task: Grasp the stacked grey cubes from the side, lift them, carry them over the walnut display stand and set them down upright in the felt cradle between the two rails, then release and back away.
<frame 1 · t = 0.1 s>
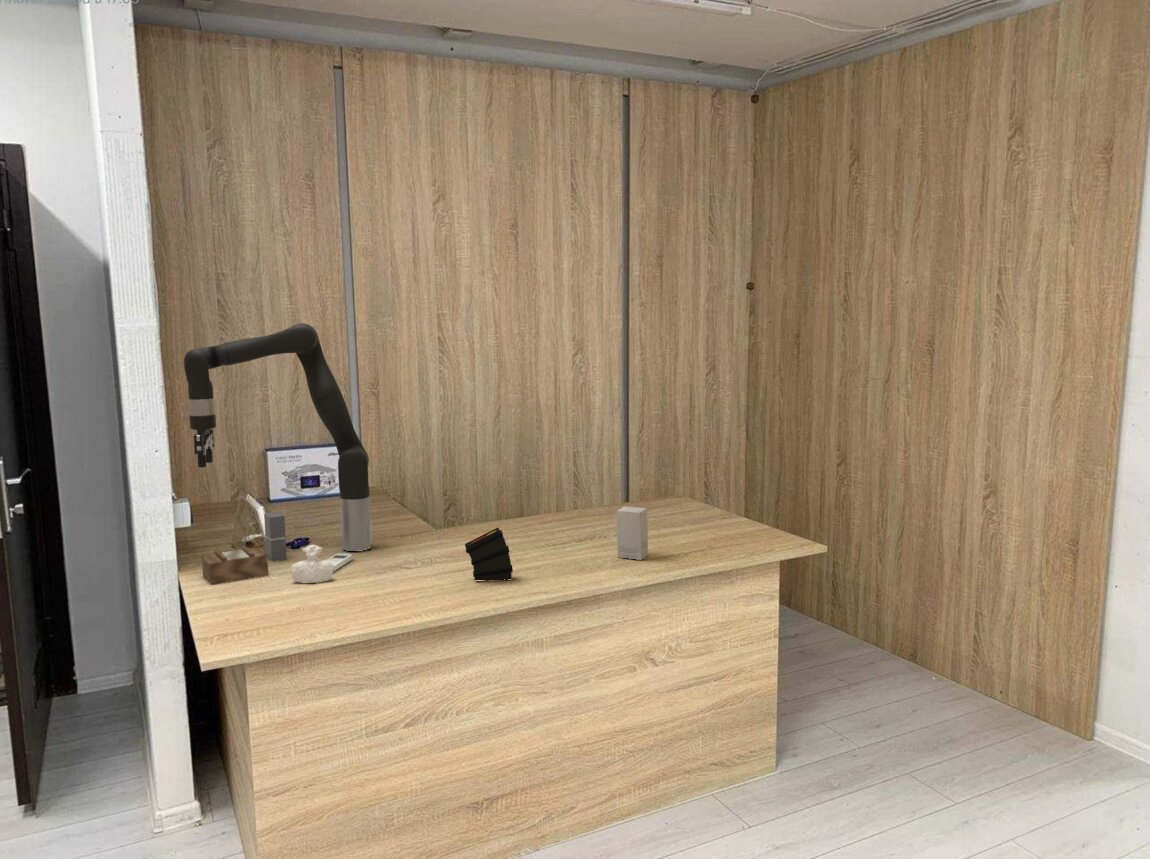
hand: (205, 464, 275), 29 cm above the table, tool pointing down, fingers open, 8 cm apart
tied plastic bag: (313, 581, 253), on the table
skincare box: (632, 557, 276), on the table
display stand: (235, 575, 258), on the table
stacked grey cubes: (276, 558, 275), on the table
magazine: (489, 580, 254), on the table
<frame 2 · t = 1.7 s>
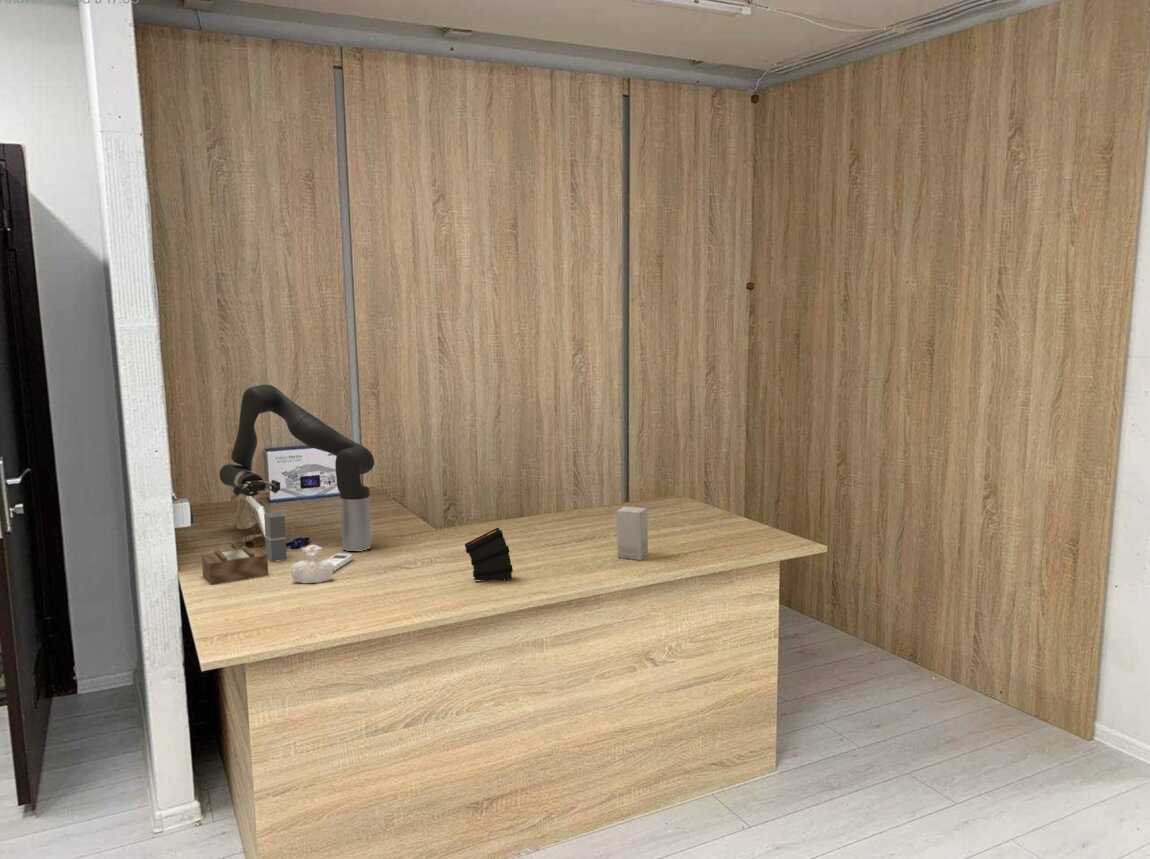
hand: (262, 491, 281), 20 cm above the table, tool horizontal, fingers open, 8 cm apart
nothing on the table moved.
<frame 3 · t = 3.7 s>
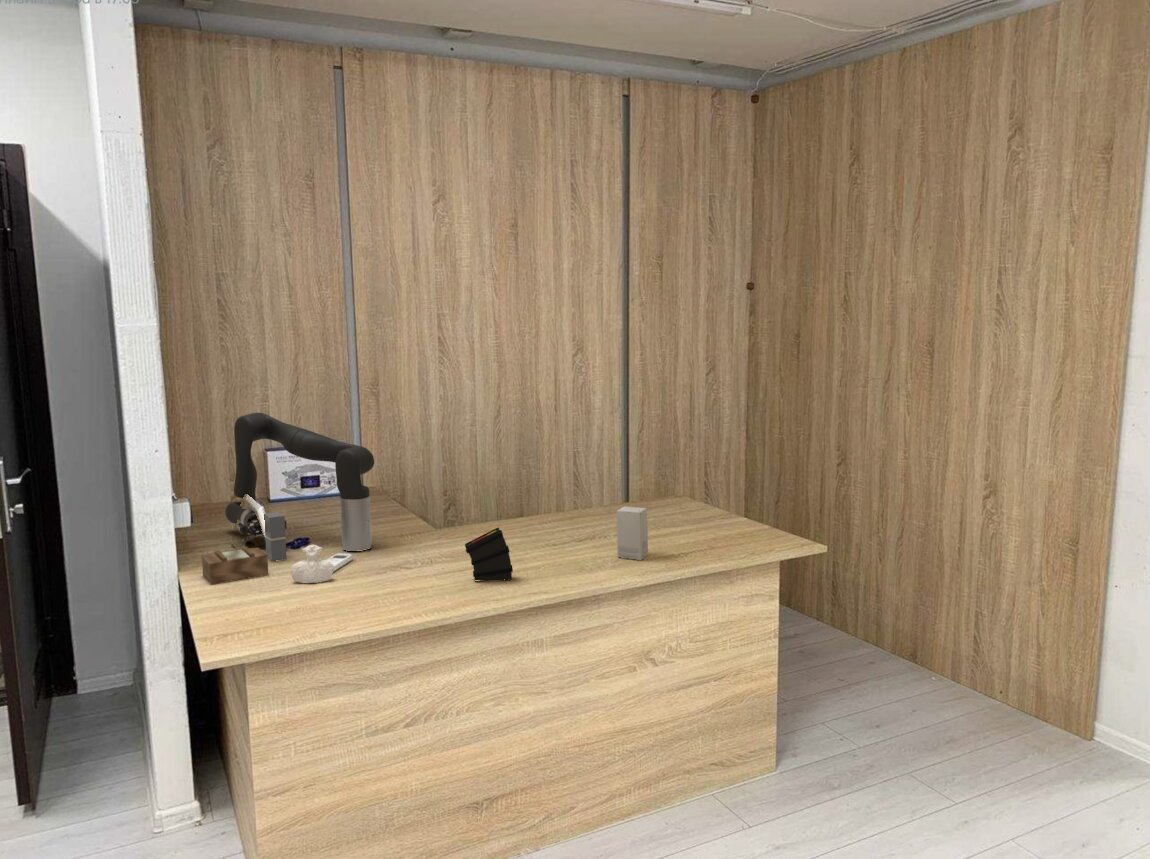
hand: (268, 530, 279), 7 cm above the table, tool horizontal, fingers open, 8 cm apart
nothing on the table moved.
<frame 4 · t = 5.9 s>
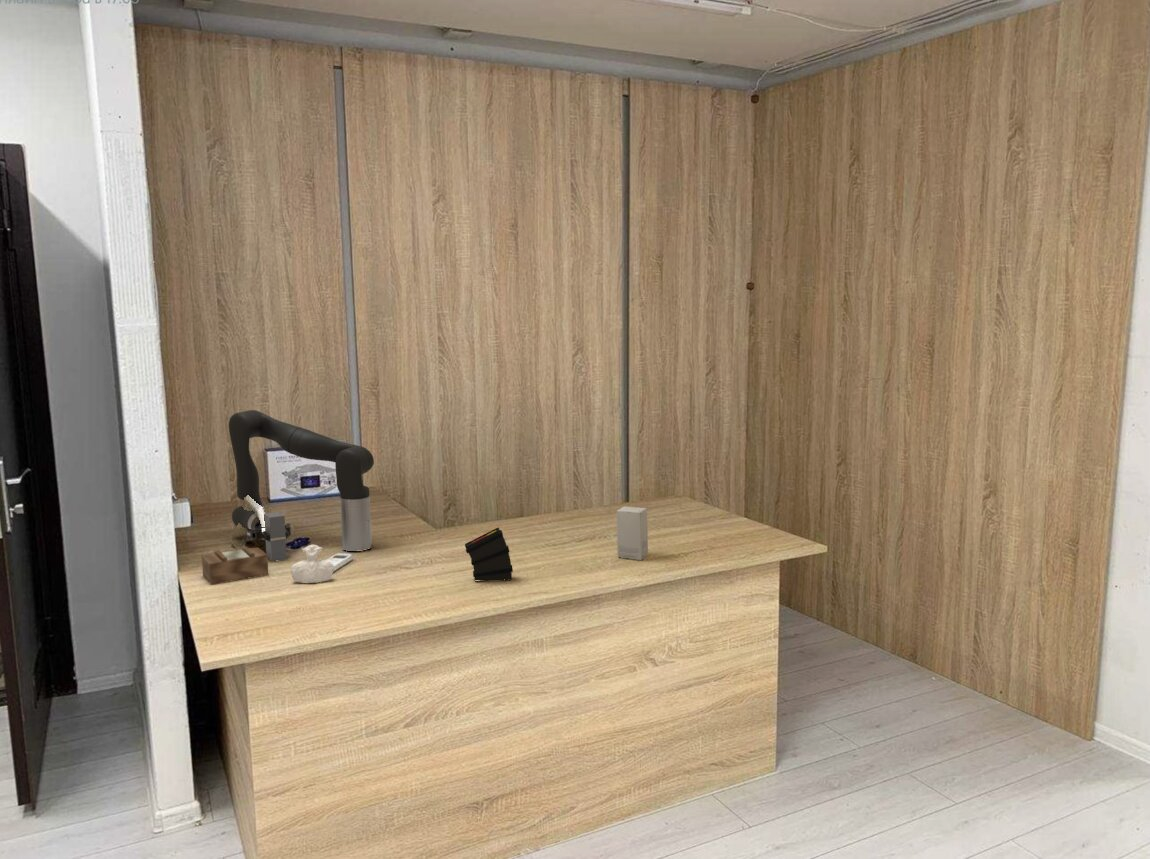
hand: (277, 536, 272), 8 cm above the table, tool horizontal, fingers closed on stacked grey cubes, 4 cm apart
stacked grey cubes: (276, 558, 275), on the table, touching gripper
everything else where it was.
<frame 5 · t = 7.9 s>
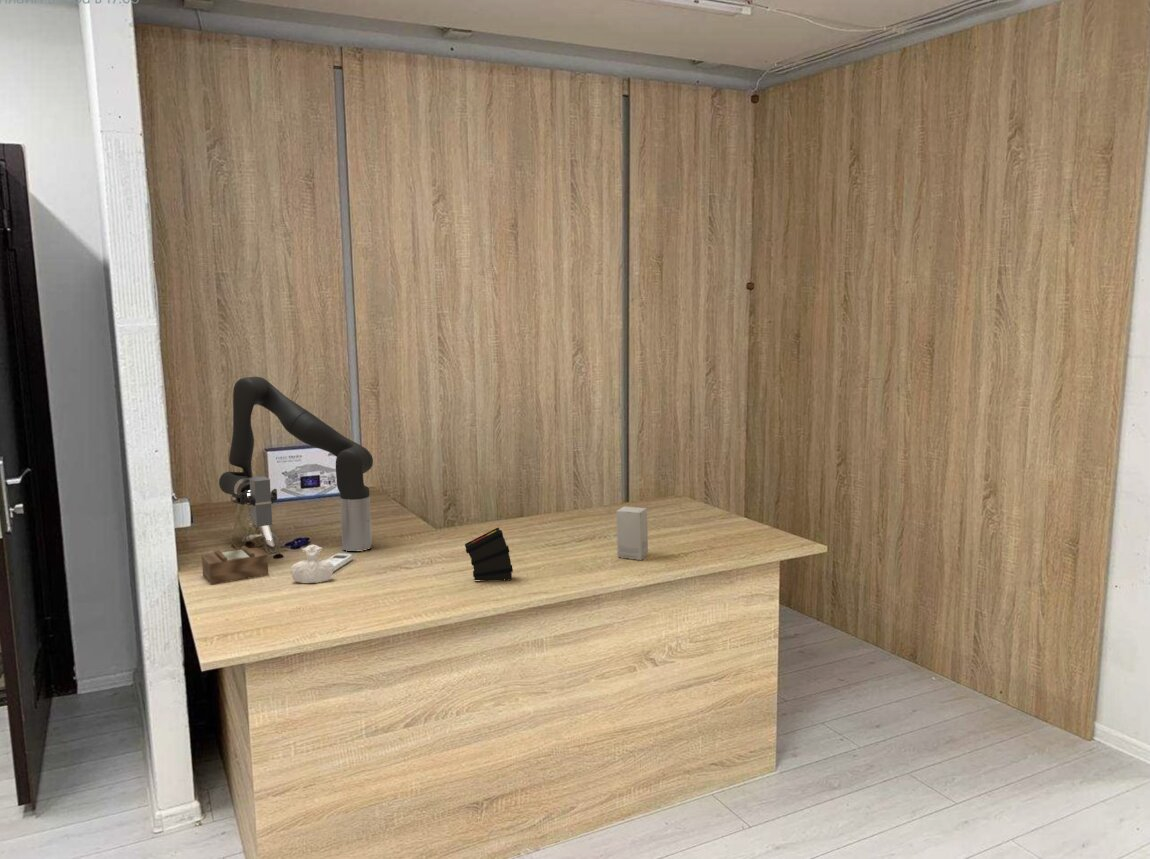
hand: (263, 501, 266), 20 cm above the table, tool horizontal, fingers closed on stacked grey cubes, 4 cm apart
stacked grey cubes: (262, 523, 269), point 12 cm above the table, touching gripper
everything else where it was.
when the fingers open (15 cm above the table, at t = 10.0 s): stacked grey cubes drops 1 cm, resting on display stand.
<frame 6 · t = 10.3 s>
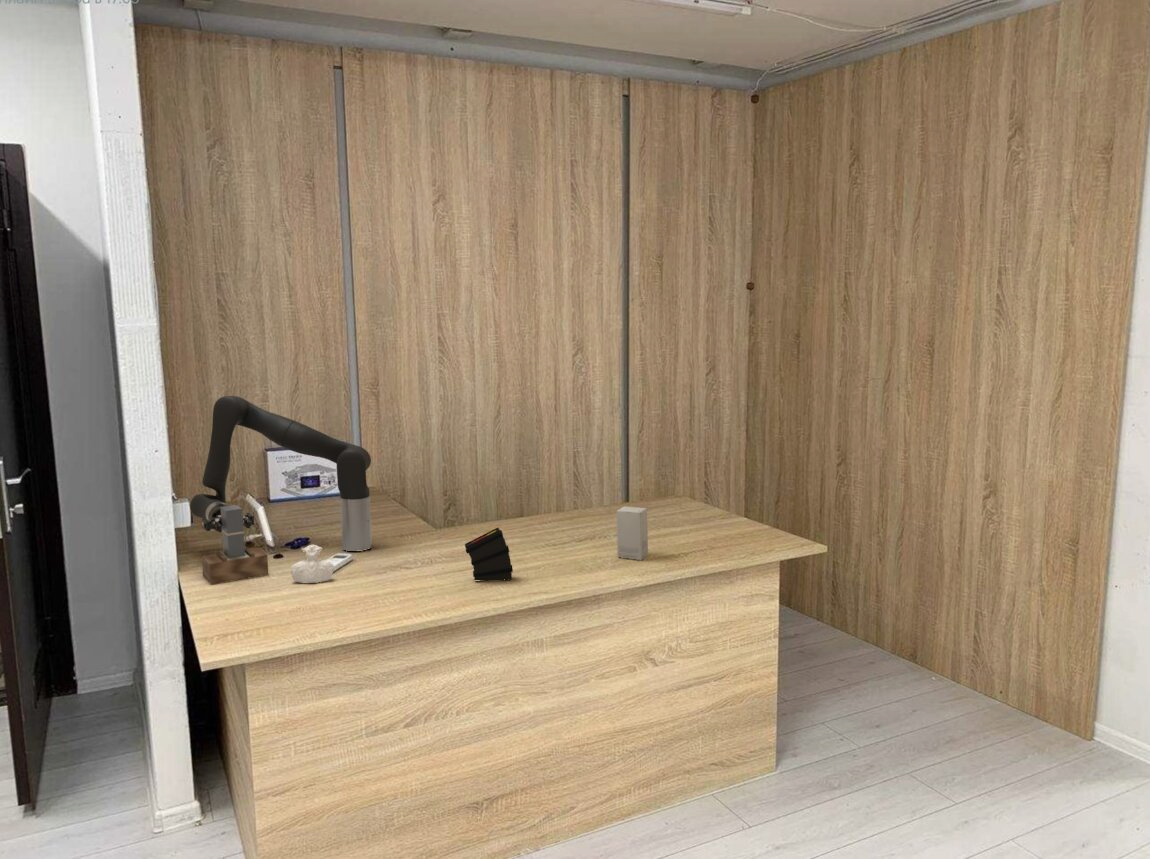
hand: (234, 526, 255), 15 cm above the table, tool horizontal, fingers open, 7 cm apart
stacked grey cubes: (234, 554, 257), point 6 cm above the table, touching display stand
everything else where it was.
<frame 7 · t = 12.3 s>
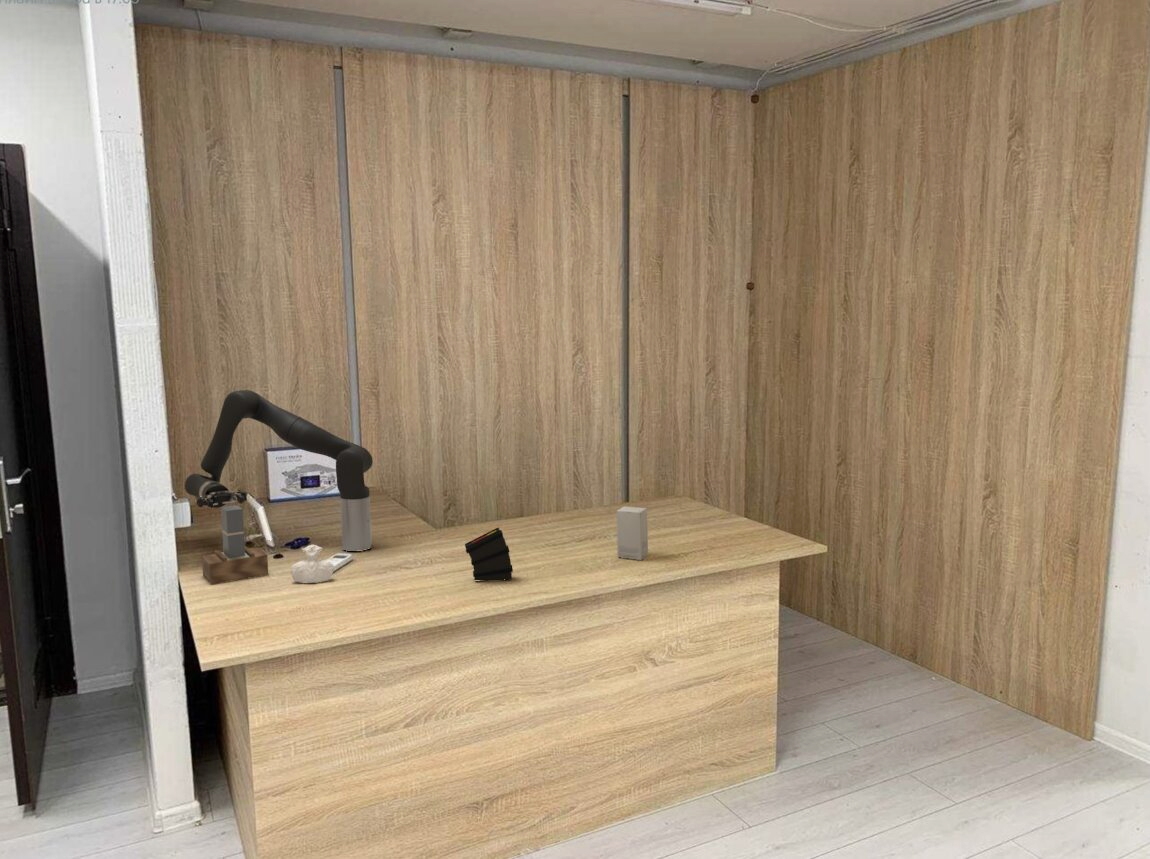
hand: (226, 502, 266), 20 cm above the table, tool horizontal, fingers open, 8 cm apart
nothing on the table moved.
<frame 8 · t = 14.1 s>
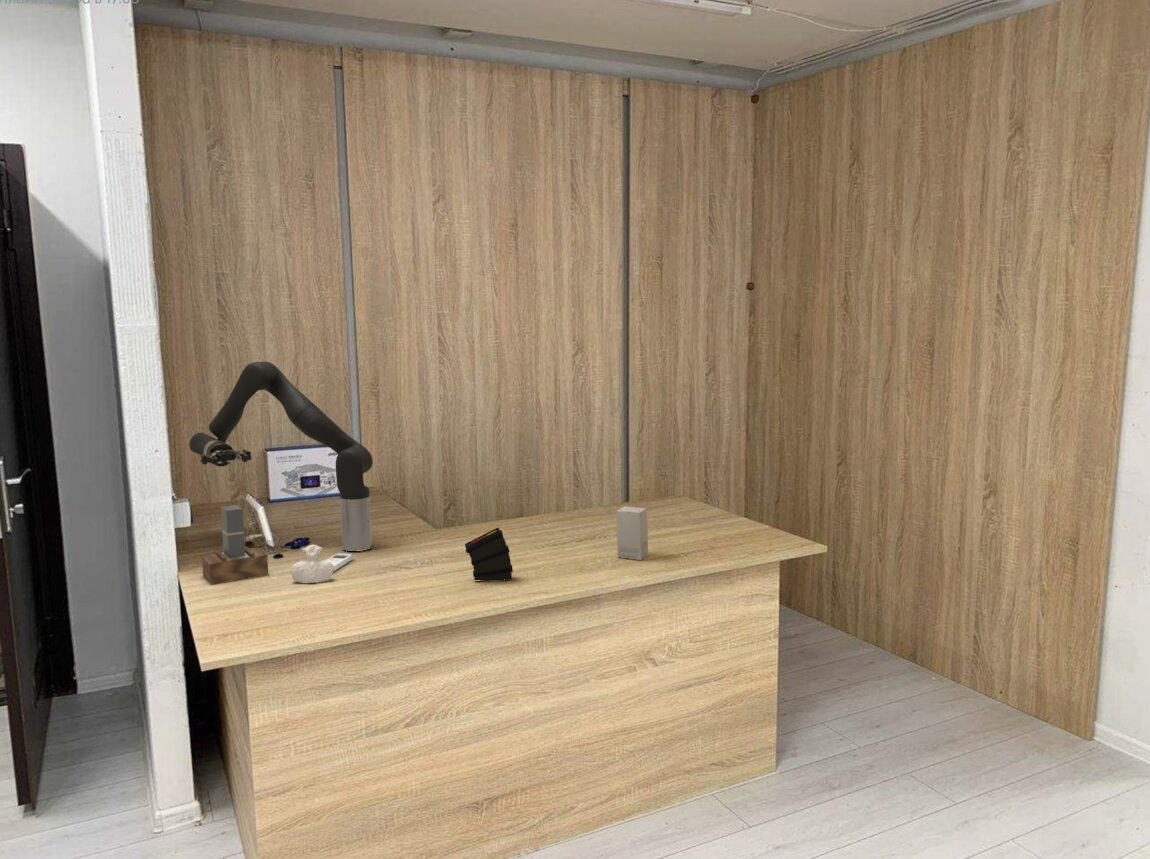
hand: (231, 460, 266), 32 cm above the table, tool horizontal, fingers open, 8 cm apart
nothing on the table moved.
at the end: stacked grey cubes 0.1 cm off-centre on the display stand, point 6.2 cm above the display stand's base; stacked grey cubes tilted 0°; the gripper is holding nothing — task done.
